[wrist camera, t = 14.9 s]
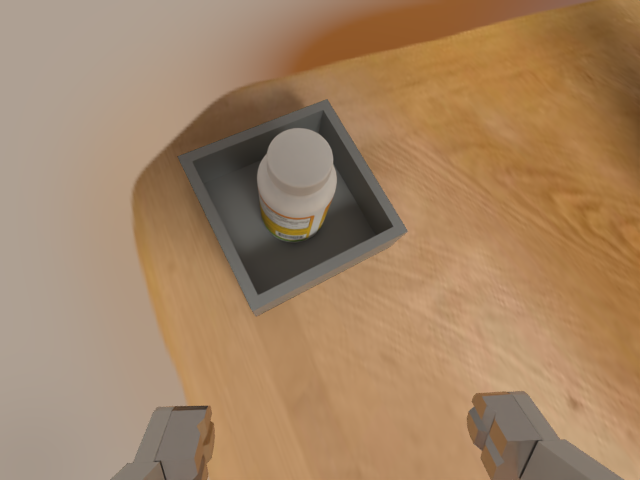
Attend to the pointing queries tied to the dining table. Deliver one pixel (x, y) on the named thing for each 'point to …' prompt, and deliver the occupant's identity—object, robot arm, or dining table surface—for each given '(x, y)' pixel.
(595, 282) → the dining table surface
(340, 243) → the box
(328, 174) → the supplement bottle
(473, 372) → the dining table surface
